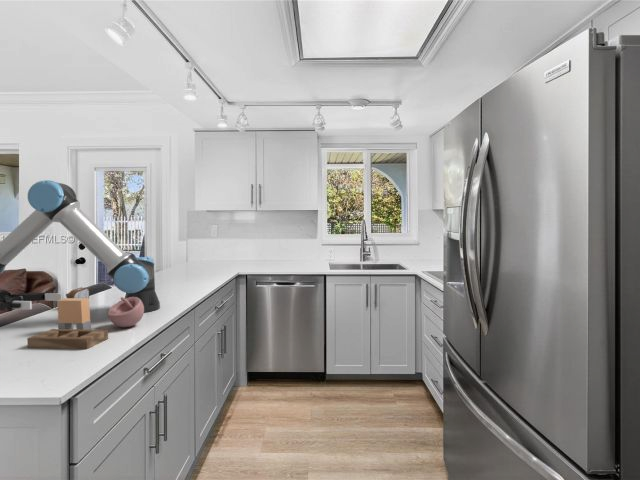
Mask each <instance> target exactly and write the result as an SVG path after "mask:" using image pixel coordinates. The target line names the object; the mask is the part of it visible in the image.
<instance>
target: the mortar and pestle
mask: <svg viewBox="0 0 640 480" xmlns="http://www.w3.org/2000/svg"><path fill="white" fill-rule="evenodd" d="M144 315H145V312H144V305H143V303H142V301H141V300H140V299H139V298H138V297H129V298H126V299H125V297H123V296H122V297H121V296H120V300H119V301H118V302H116V303H114V304H113V305H112V306H111V307H110V308H109V310H108V311H107V317H108V319H109V321H110V322H111V323H112V324H113V325H114V326H116V327H119V328H131V327H134V326H135V325H137V324H138V323H139V322H140V321H141V320H142V319H143V317H144Z"/></svg>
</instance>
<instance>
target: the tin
mask: <svg viewBox="0 0 640 480" xmlns="http://www.w3.org/2000/svg"><path fill="white" fill-rule="evenodd" d="M66 298H89V299H90V290H89V288H87V287H77V288H75V289H72V290H70V291H69V292H68V294H67V297H66Z"/></svg>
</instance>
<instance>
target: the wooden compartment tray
mask: <svg viewBox="0 0 640 480" xmlns="http://www.w3.org/2000/svg"><path fill="white" fill-rule="evenodd" d="M108 339H109V330H108V329H91V330H81V329H77V328H76V329H74V328H73V329H58V328H51V329H49V330H46V331H43V332H41V333H38V334H35V335H32V336H30V337H27V339H26V340H27V348H28V349H31V348H32V349H69V350H70V349H71V350H76V349H77V350H88V349H90V348H93V347H94V346H96V345H98V344H100V343H102V342H105V341H107V340H108Z"/></svg>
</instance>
